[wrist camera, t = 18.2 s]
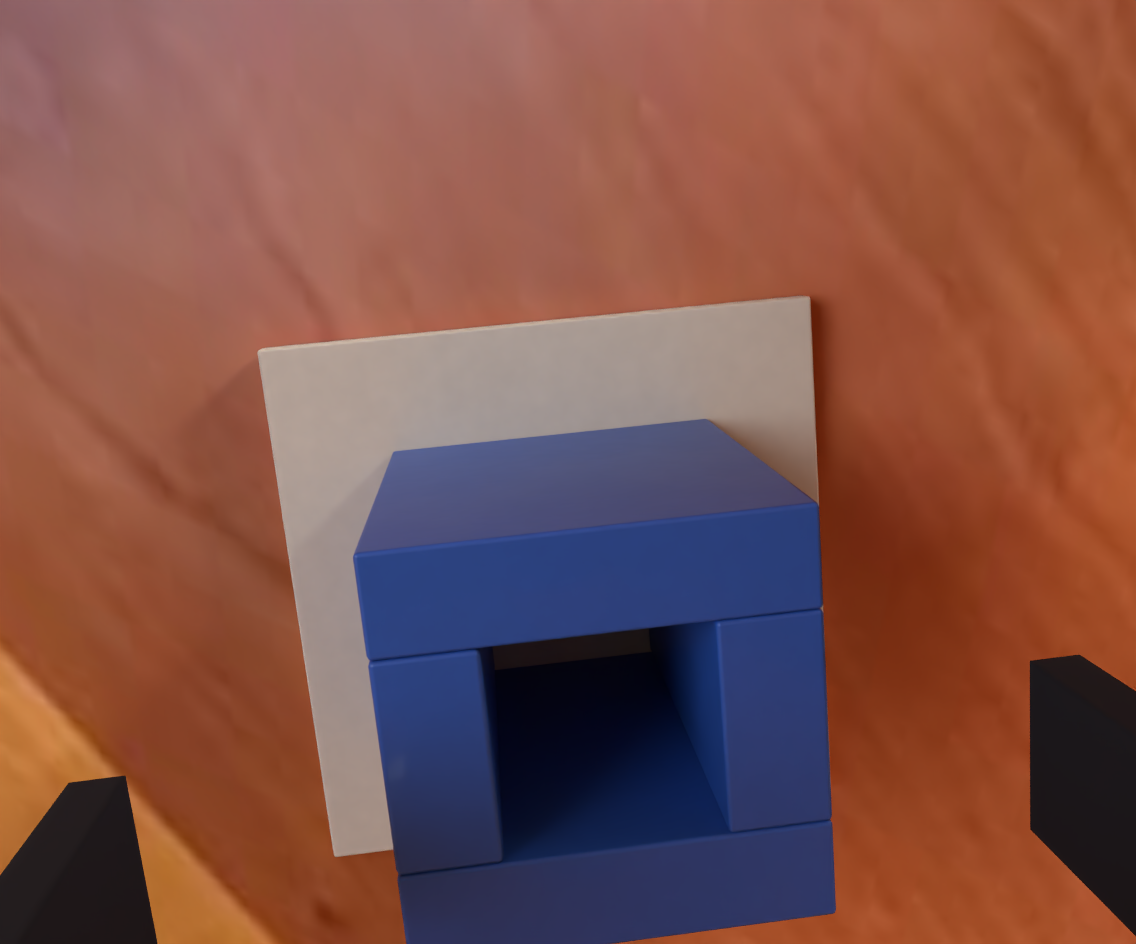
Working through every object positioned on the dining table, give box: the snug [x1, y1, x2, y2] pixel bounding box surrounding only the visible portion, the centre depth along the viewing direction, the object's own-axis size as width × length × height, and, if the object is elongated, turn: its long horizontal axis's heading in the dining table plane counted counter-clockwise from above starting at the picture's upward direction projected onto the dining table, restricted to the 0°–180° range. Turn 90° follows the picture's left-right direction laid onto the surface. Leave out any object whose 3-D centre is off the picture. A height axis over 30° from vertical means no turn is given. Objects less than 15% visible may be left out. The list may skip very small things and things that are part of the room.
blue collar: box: [353, 419, 836, 944], centre depth 21 cm, size 7×7×8 cm
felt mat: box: [258, 295, 831, 857], centre depth 25 cm, size 12×12×1 cm
